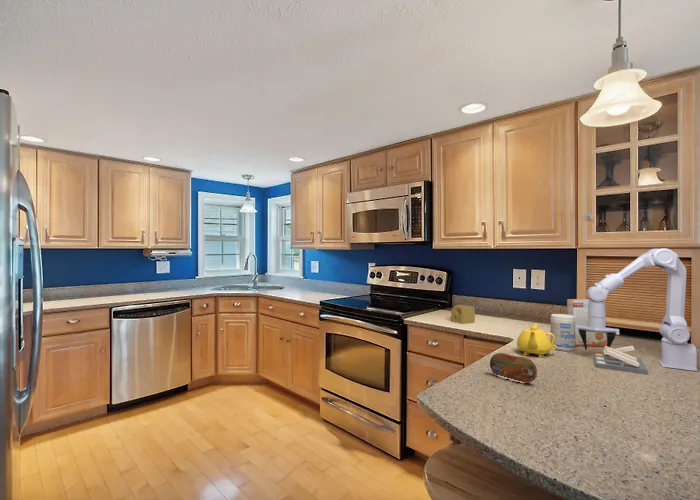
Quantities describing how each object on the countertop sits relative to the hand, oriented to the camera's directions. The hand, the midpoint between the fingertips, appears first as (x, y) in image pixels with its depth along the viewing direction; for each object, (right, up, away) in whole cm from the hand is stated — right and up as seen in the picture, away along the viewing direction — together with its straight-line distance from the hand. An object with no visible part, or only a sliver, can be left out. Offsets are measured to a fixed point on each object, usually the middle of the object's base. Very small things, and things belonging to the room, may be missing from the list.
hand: (596, 350), depth 145 cm
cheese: (-30, -4, +77) cm, 83 cm away
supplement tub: (-5, -4, +15) cm, 16 cm away
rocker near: (0, +1, -14) cm, 14 cm away
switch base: (+2, -3, -9) cm, 9 cm away
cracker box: (+10, -4, +21) cm, 23 cm away
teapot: (-21, -4, +6) cm, 22 cm away
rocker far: (+6, +1, -4) cm, 7 cm away
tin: (-44, -3, -24) cm, 51 cm away
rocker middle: (+3, +1, -9) cm, 9 cm away
